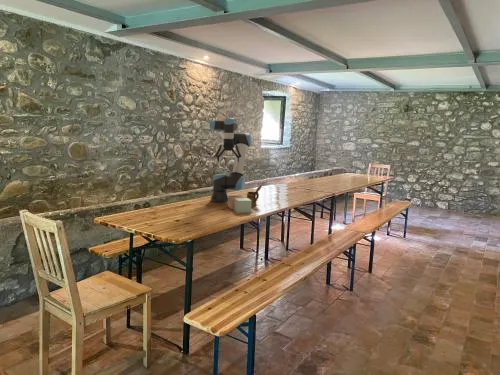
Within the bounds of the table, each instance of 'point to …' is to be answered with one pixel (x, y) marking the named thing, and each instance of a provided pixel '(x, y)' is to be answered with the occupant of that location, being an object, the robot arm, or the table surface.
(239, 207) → the sage cover
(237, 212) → the slate tile
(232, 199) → the terracotta cover
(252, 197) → the wooden mug
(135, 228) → the table surface
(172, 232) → the table surface
